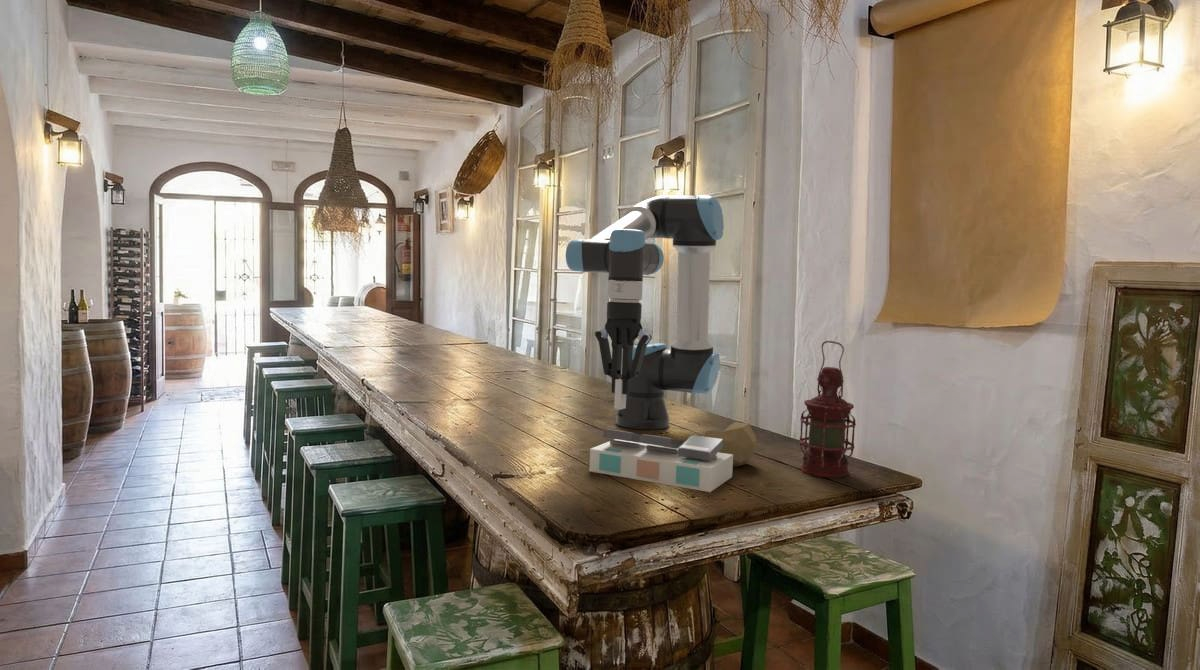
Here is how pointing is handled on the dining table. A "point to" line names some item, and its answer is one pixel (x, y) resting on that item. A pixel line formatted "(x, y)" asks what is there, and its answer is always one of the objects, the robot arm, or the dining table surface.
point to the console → (660, 465)
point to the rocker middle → (660, 441)
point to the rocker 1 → (621, 435)
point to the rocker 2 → (700, 447)
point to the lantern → (827, 426)
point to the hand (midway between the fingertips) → (619, 408)
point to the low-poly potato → (736, 442)
